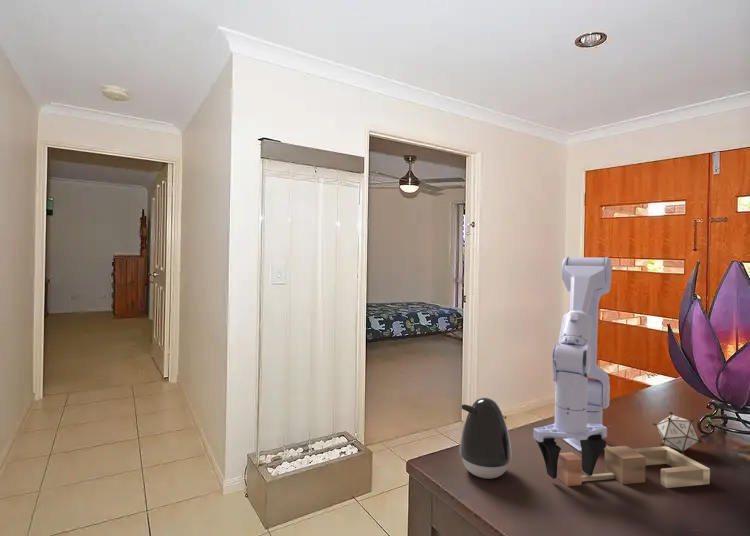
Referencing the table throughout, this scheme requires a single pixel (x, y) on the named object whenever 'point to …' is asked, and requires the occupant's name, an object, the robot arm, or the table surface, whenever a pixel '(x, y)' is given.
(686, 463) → the wooden u-channel piece
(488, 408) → the pump dispenser
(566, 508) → the table surface
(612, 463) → the tethered block
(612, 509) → the table surface
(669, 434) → the game die
